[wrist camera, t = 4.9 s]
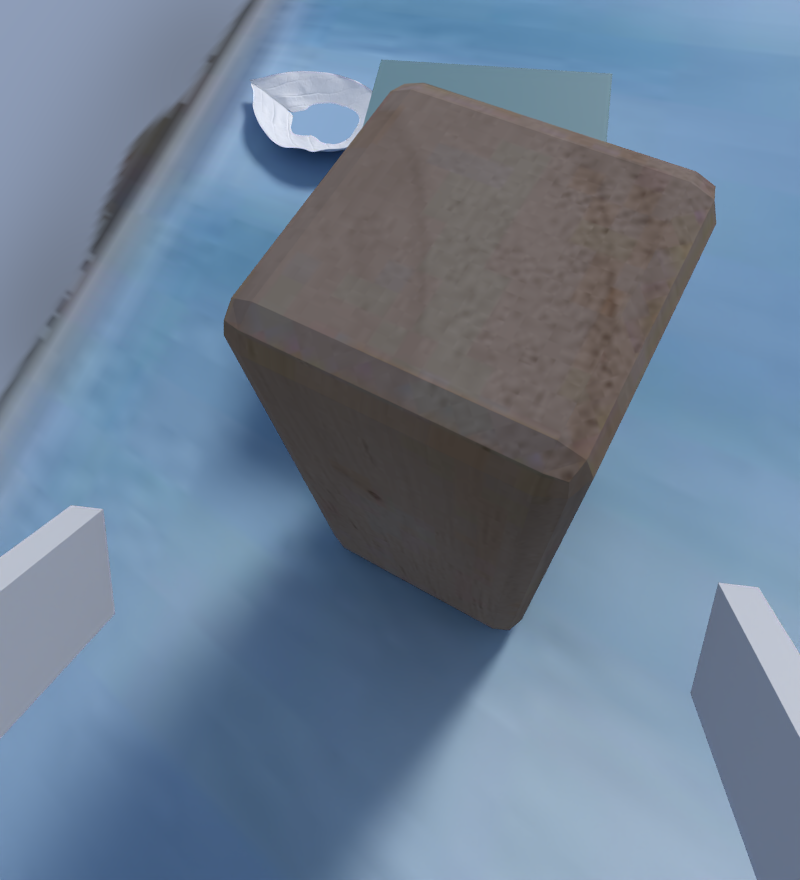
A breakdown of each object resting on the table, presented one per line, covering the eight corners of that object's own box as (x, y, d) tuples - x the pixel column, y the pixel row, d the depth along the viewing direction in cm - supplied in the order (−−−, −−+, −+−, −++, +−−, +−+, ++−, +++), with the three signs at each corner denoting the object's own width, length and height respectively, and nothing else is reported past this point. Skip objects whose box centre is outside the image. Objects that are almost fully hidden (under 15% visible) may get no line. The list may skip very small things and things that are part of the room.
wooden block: (330, 543, 35) (194, 316, 17) (424, 388, 38) (397, 57, 20) (510, 642, 32) (583, 500, 14) (595, 466, 35) (743, 167, 17)
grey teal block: (579, 321, 34) (596, 263, 30) (345, 295, 36) (332, 237, 32) (595, 144, 39) (612, 73, 35) (388, 128, 41) (381, 59, 37)
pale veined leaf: (353, 194, 44) (347, 161, 42) (220, 134, 48) (208, 101, 46) (425, 124, 47) (423, 89, 44) (293, 73, 51) (285, 39, 49)
